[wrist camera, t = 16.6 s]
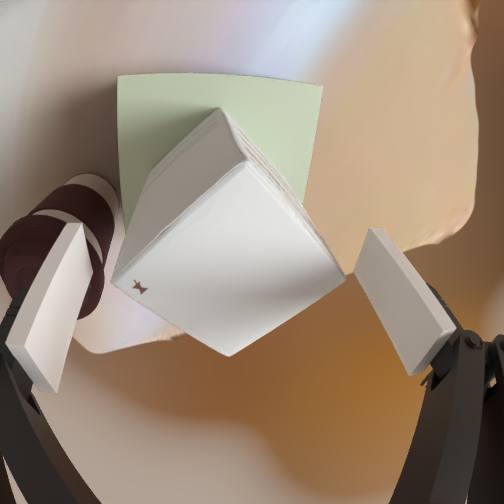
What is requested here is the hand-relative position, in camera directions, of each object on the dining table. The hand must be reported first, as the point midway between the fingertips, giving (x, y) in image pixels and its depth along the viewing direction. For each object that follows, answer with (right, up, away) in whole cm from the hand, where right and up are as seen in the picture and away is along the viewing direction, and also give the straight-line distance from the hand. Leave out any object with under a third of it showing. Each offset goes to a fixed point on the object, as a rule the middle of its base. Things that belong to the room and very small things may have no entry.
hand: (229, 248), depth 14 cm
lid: (-2, +6, +9) cm, 11 cm away
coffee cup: (-17, +6, +18) cm, 25 cm away
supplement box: (-2, +6, +9) cm, 11 cm away
